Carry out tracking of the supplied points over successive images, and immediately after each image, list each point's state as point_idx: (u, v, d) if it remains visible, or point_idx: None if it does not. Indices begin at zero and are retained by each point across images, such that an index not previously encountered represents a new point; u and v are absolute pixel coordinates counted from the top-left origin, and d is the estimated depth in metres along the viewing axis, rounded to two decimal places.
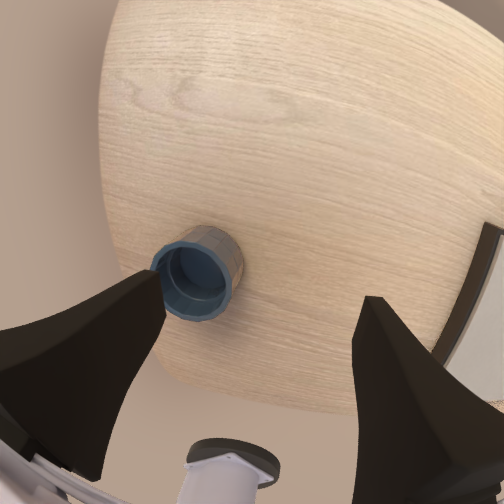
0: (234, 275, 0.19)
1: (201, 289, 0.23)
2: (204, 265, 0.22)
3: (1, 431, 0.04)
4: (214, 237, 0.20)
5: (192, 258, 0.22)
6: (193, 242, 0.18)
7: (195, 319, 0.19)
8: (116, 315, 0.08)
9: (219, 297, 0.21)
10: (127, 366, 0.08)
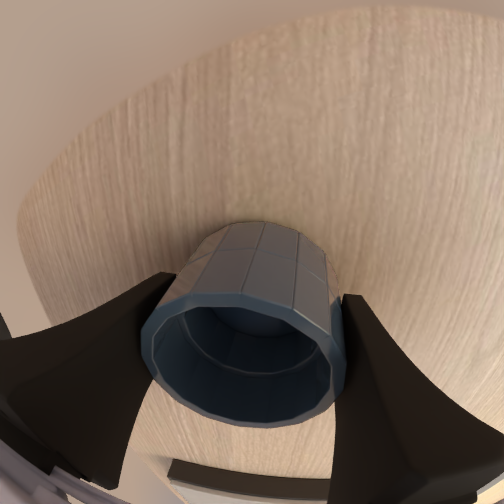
0: None
1: None
2: None
3: (1, 431, 0.04)
4: None
5: None
6: (342, 385, 0.07)
7: (157, 378, 0.08)
8: (135, 319, 0.08)
9: (209, 360, 0.10)
10: (144, 371, 0.08)
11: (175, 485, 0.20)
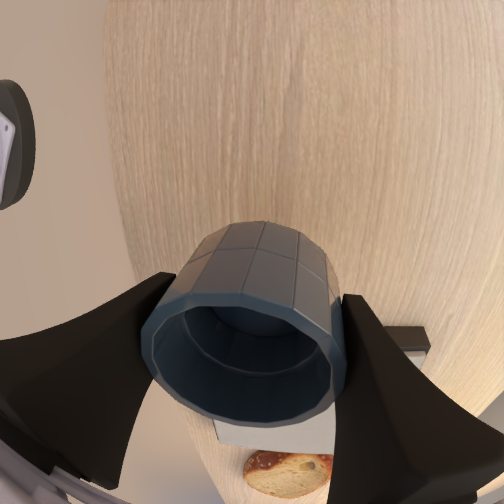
0: None
1: None
2: None
3: (1, 431, 0.04)
4: None
5: None
6: (343, 384, 0.07)
7: (157, 377, 0.08)
8: (135, 319, 0.08)
9: (209, 360, 0.10)
10: (144, 371, 0.08)
11: None
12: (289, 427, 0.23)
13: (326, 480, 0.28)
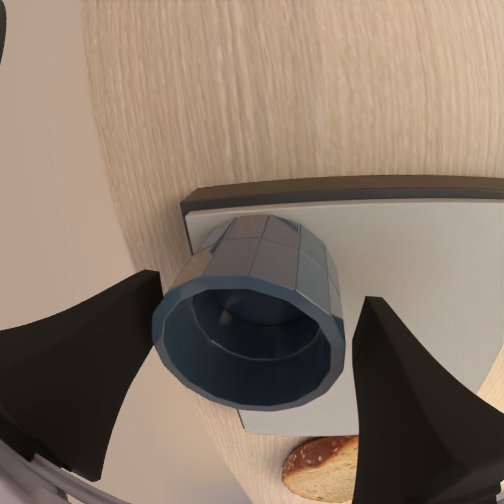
0: None
1: None
2: None
3: (1, 431, 0.04)
4: None
5: None
6: (342, 365, 0.08)
7: (166, 362, 0.09)
8: (116, 315, 0.08)
9: (215, 347, 0.11)
10: (127, 366, 0.08)
11: (197, 219, 0.11)
12: None
13: None
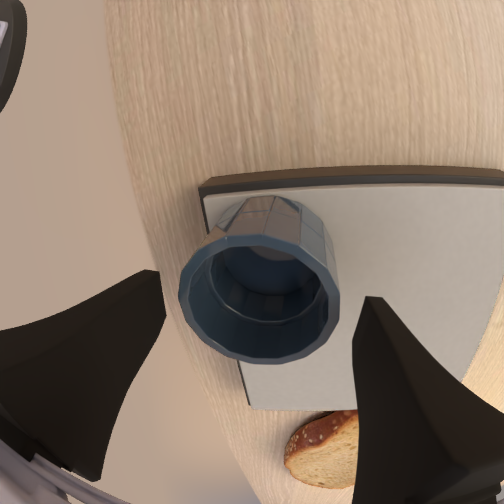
0: None
1: (221, 256, 0.13)
2: (263, 252, 0.13)
3: (1, 431, 0.04)
4: None
5: None
6: (338, 315, 0.10)
7: (188, 318, 0.11)
8: (116, 315, 0.08)
9: (229, 310, 0.13)
10: (127, 366, 0.08)
11: (214, 200, 0.13)
12: None
13: None
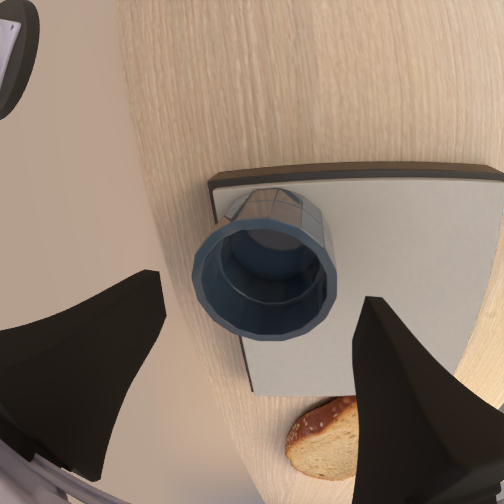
0: None
1: (229, 243, 0.15)
2: (267, 239, 0.15)
3: (1, 431, 0.04)
4: None
5: None
6: (336, 292, 0.11)
7: (200, 297, 0.12)
8: (116, 315, 0.08)
9: (236, 293, 0.14)
10: (127, 366, 0.08)
11: (222, 193, 0.15)
12: (351, 341, 0.17)
13: None
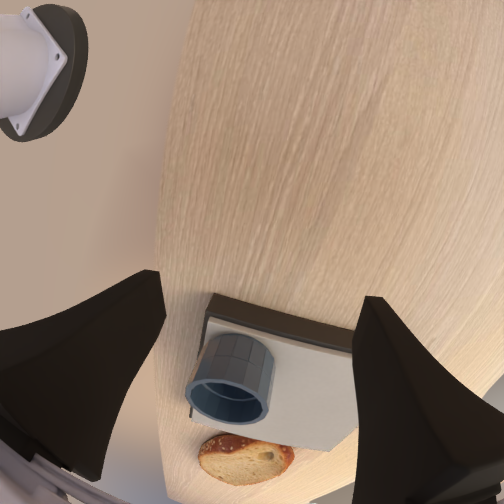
0: None
1: None
2: None
3: (1, 431, 0.04)
4: None
5: None
6: (264, 416, 0.18)
7: (187, 395, 0.18)
8: (116, 315, 0.08)
9: (205, 386, 0.20)
10: (127, 366, 0.08)
11: (214, 324, 0.20)
12: (267, 415, 0.25)
13: (281, 472, 0.31)
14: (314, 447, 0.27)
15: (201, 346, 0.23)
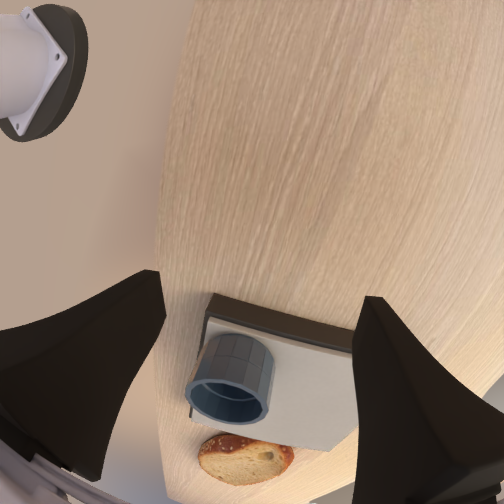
0: None
1: None
2: None
3: (1, 431, 0.04)
4: None
5: None
6: (264, 416, 0.18)
7: (187, 395, 0.18)
8: (116, 315, 0.08)
9: (205, 386, 0.20)
10: (127, 366, 0.08)
11: (214, 324, 0.20)
12: (267, 415, 0.25)
13: (281, 472, 0.31)
14: (314, 447, 0.27)
15: (201, 346, 0.23)
